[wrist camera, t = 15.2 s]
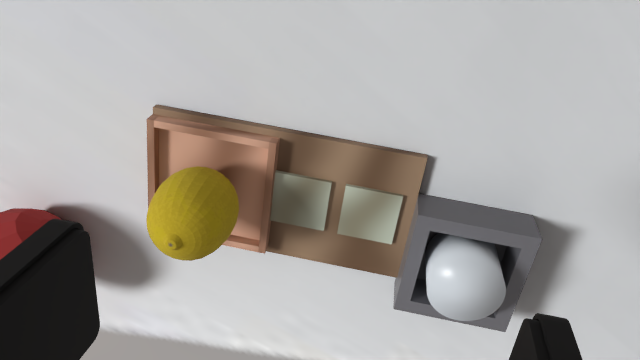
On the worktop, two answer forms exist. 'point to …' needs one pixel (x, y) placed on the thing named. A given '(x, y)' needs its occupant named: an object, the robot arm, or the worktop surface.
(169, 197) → the lemon
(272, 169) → the board
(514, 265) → the housing
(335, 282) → the worktop surface
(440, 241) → the dome
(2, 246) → the tomato
